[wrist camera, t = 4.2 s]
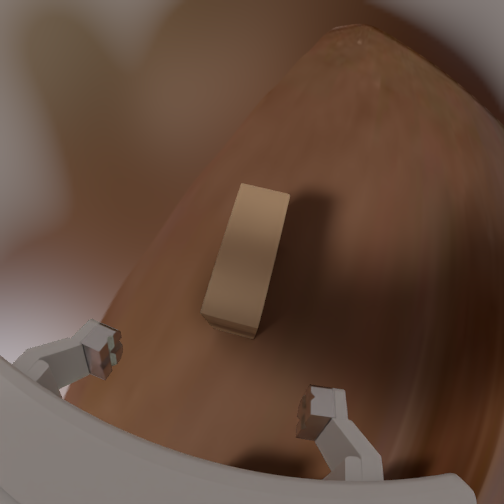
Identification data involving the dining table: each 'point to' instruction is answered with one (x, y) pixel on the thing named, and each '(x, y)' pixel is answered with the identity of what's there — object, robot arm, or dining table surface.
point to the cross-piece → (245, 261)
